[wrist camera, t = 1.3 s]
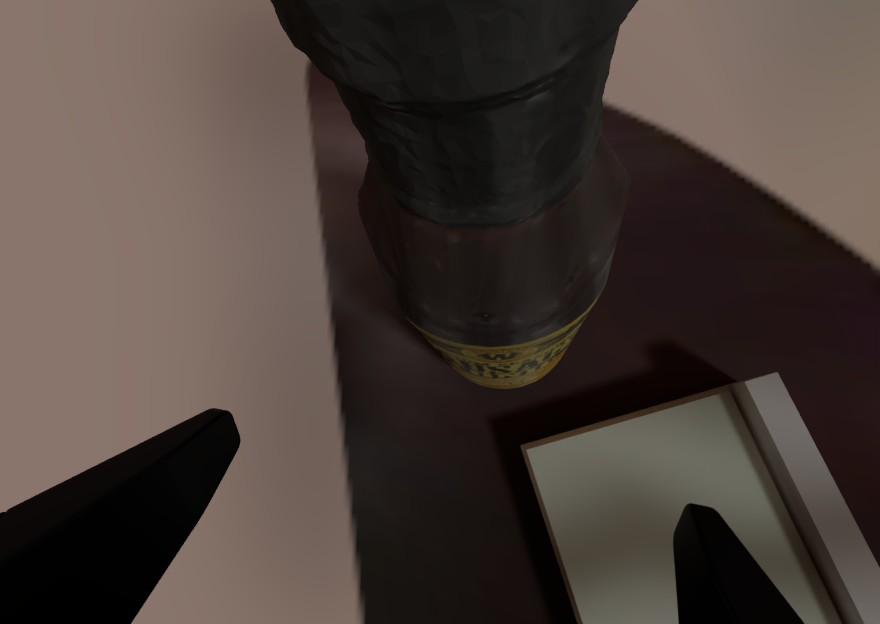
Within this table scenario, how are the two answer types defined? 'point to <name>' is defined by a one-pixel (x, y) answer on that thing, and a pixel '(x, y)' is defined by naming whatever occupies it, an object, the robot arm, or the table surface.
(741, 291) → the table surface
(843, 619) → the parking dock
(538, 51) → the sauce bottle
